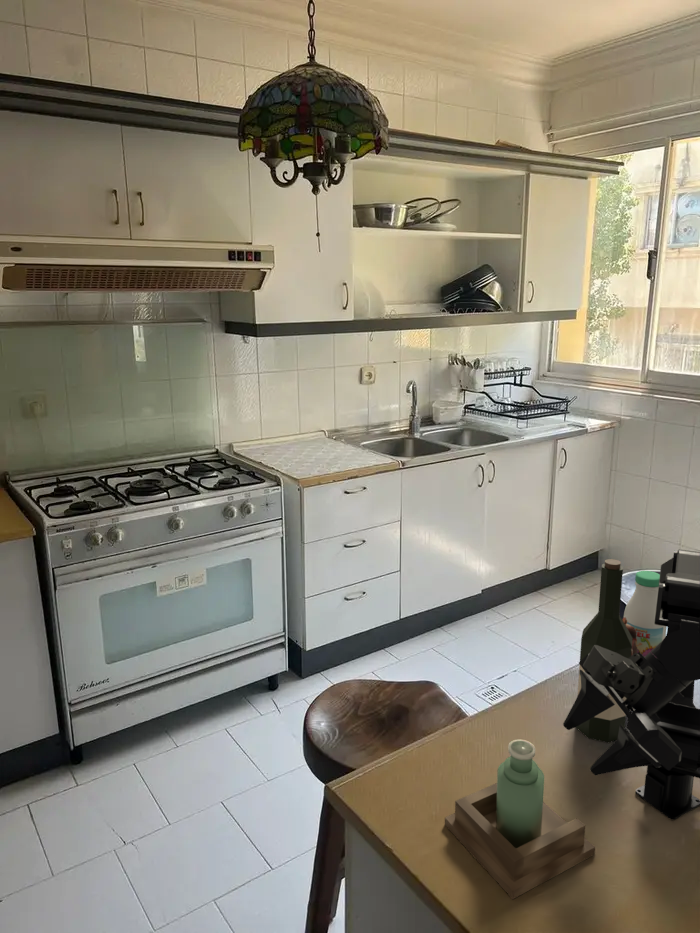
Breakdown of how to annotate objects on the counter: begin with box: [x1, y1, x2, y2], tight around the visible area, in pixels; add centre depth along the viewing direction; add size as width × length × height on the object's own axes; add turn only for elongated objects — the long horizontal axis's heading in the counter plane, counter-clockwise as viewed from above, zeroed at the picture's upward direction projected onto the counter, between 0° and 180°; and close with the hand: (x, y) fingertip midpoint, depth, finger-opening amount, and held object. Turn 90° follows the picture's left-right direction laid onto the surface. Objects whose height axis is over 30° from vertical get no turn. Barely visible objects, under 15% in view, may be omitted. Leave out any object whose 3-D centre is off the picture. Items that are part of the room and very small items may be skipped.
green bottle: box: [496, 738, 545, 848], centre depth 91 cm, size 6×6×13 cm
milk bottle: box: [623, 570, 667, 657], centre depth 131 cm, size 8×8×20 cm
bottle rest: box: [444, 782, 596, 900], centre depth 92 cm, size 14×14×4 cm
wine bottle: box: [575, 558, 633, 743], centre depth 113 cm, size 8×8×30 cm
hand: (578, 748), depth 90 cm, fingers open, 9 cm apart
